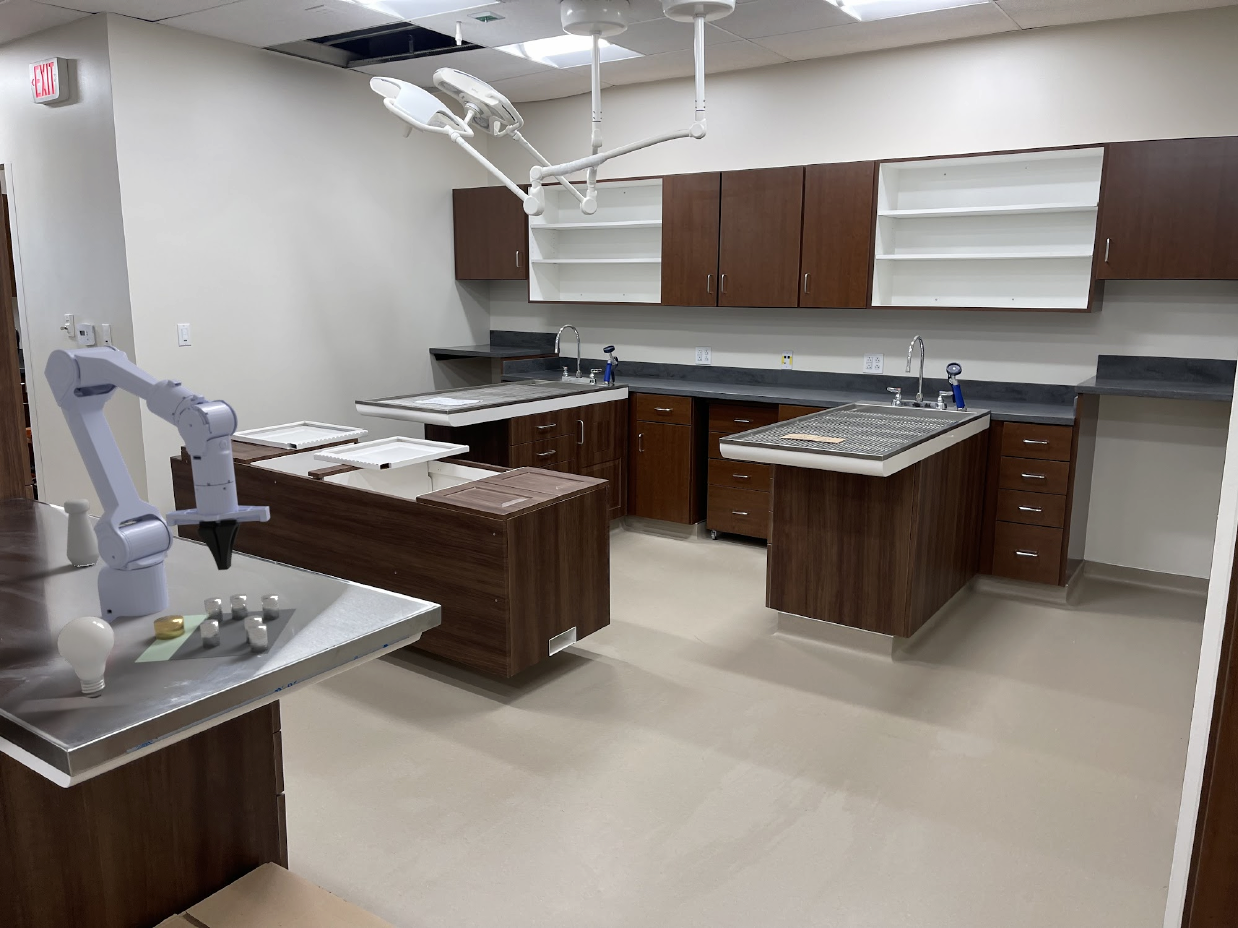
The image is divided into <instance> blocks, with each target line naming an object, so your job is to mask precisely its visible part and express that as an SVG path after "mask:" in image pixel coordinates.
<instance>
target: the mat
mask: <svg viewBox="0 0 1238 928" xmlns="http://www.w3.org/2000/svg"><path fill="white" fill-rule="evenodd" d="M296 610H297V608H284V609H282V608H281V609H279V614H280V617H279V618H278V619H275V620H264V619H263V610H258V611H257V610H254V611H252V610H251V611H248V617H249V616H256V615H257V616H261V617H262V624H266V629H267V638H268V647H269V649H268V650H267V651H264V652H261V653H252V652H251V650H250V644H248V643H247V642H246V633H245V624H244V619H243V620H233V619H232V614H231V612H225V613H224V612H223V621H222V622H220V623H218V626H219V634H220V643H221V644H220V645H219V646H217V647H215V648H208V649H207V648H203V646H202V637H201V629H200V623H201V622H203V621H206V613H205V614H191V615H182V616H183V619H184V627H185V634H184V635H183V636H181V637H178V638H175V639H170V640H158V639H155V640H154V642H152V644H151V645H150V646H149V647H148V648H147V649H146V650H145V651H144V652H142V654H141V655H139V657H137V659H136V660H135V661H134V662H133V663H134V664H135V663H147V662H149V663H150V662H160V661H161V662H162V661H163V662H164V661H176V660H177V661H179V660H191V659H205V658H207V659H209V658H223V657H236V656H248V655H249V656H250V655H265V654H269V652H270V651H271V649H272V648H273V646H274V645H275V643H276V641H277V640H278V638H279V637H280V636H281V633H283V630H284V629H285V628H286V626H287V624H288V623H289V621H290V619H291V618H292V616H293V615H294V613H295V612H296Z"/></svg>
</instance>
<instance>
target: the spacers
mask: <svg viewBox="0 0 1238 928" xmlns="http://www.w3.org/2000/svg"><path fill="white" fill-rule="evenodd" d="M260 599H261V607H262V608H261V609H262V610H261V611H263V619H264V620H275V619H278V618H279V617H280V614H279V610H280V606H279V596H278V594H277V593H268V594H264V595H262V596H261V598H260ZM229 603H230V604H229V605H230V613H231V614H232V619H233V620H243V619H244V624H245V633H246V642H247V643H248V644H250V650H251V652H252V653H261V652H264V651H267V650H268V649H269V647H268V638H267V629H266V624H262V617H261V616H257V615H256V616H249V617H248V612H249V610H248V609H249V608H248V600H247V594H245V593H237V594H232V595H231V596H230V597H229ZM204 610H205V611H204V612H205V614H206V621H203V622H201V623H200V629H201V637H202V646H203V648H207V649H208V648H215V647H217V646H219V645H220V644H221V643H220V634H219V626H218V623H220V622H222V621H223V613H224V612H223V603H222V598H221V597H217V596H216V597H210V598H207V599H205V600H204Z"/></svg>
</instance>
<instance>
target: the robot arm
mask: <svg viewBox="0 0 1238 928" xmlns="http://www.w3.org/2000/svg"><path fill="white" fill-rule="evenodd" d="M44 376H45V379H46V381H47V382H48V385H49V388H50V390H51V393H52V394H53V396H54V399H55V401H56V402H55V403H56V405H57V406H58V407H59V408H60V409H61V412H62V415H63V417H64V419H65V421H66V424H67V426H68V429H69V431H70V433H71V436H72V437H73V441H74V443H75V445H76V447H77V450H78V452H79V455H80V457H81V459H82V462H83V464H84V466H85V469H86V471H87V473H88V475H89V478H90V480H91V482H92V486H93V488H94V490H95V491H96V494H97V497H98V499H99V501H100V504H101V506H102V509H103V513H102V515H101V516H100V518H99V519H98V521H96V524H95V525H94V527H93V530H94V532H95V535H96V538H97V541H98V551H99V554H100V556H99V557H100V558H101V559H102V561H103V562H104V563H105V565H103V566H102V567H101V568H100V570H99V572H98V576H97V592H98V597H99V598H98V599H99V604H100V605H99V606H100V611H101V619H103V620H104V621H106V622H107V623H108V624H109V625H110V624H111V623H112V622H113V621H114V620H116V619H117V618H118V617H143V616H149V615H153V614H156V613H159V612H162V611H164V610H166V609H168V608H169V607H170V603H171V602H170V595H169V589H168V582H167V581H168V580H167V573H166V567H165V559H166V558H168V557H169V556H168V552H169V551H170V550H171V549H172V546H173V542H174V532H173V530H172V527H175V526H183V525H185V526H186V525H199V526H198V528H197V534H198V536H199V537H200V538H201V539H202V541H203V542H204V543H205V544H206V546H207V547H208V549H209V551H210V552H211V555H212V557H213V560H214V562H215V565H216V567H217V570H218V571H226V570H229V569H230V568H231V567H232V559H233V558H232V557H233V552H234V551H233V550H234V545H235V542H236V539H237V536H238V533H239V531H240V528H241V525H242V522H253V521H254V522H256V521H258V522H259V521H260V522H268V521H269V520H270V519H271V514H270V506H266V505H265V506H263V505H262V506H260V505H259V506H255V505H239V504H238V495H237V484H236V475H235V468H234V458H233V449H232V448H233V447H232V440H231V437H232V436H233V435H235V433H236V431H237V429H238V424H239V423H238V416H237V413H236V411H235V410H234V408H233V406H232V405H231V404H229V403H228V402H227V401H226V400H224V399H214V400H210V399H209V400H208V399H206V398H205V396H204V395H203V394H201V393H196V392H194V391H192V390H191V389H188V388H187V387H186V386H183V385H182V384H183V383H182V381H181V380H179V379H177V378H173V379H163V380H158V379H157V378H156V377H154V376H152V375H151V374H149V373H148V372H147V371H145V370H143V369H142V368H140V367H139V366H137V364H135V363H133V362H131V360H129V358H128V355H127V353H126V352H125V351H124V350H119V348H118V347H116V346H114V345H110V344H109V345H103V346H94V347H82V348H70V349H61V348H59V349H54V350H53V351H52V352H51V353H50V354H49V356H48V358H47V361H46V366H45V369H44ZM118 389H122V390H123V391H126V392H128V393H130V394H132V395H135V396H136V397H138V398H141V399H142V400H144V401H146V403H145V404H146V407H147V409H148V411H149V412H150V413H151V414H154V415H156V416H158V418H160V419H163V420H164V421H166V422H167V423H169V424H171V425H172V426H174V427H176V428H177V431H178V433H179V436H180V437H181V439H182V440H183V442H184V445H185V451H186V452H187V453H188V455H189V456H190V462H191V469H192V478H193V487H194V496H195V503H196V504H195V505H196V508H191V509H181V510H172V511H171V510H170V511H169V512H167V513H166V514H165V518H164V517H163V515H162V514H161V512H160V510H159V508H158V507H157V506H156V505H154V504H151V503H149V502H147V501H145V500H142V499H141V497H140V495H139V493H138V491H137V489H136V487H135V483H134V482H133V479H132V476H131V475H130V472H129V470H128V467H127V465H126V463H125V460H124V459H123V455H122V453H121V450H120V449H119V446H118V444H117V442H116V441H117V440H116V439H115V436H114V433H113V431H112V429H111V428H110V425H109V423H108V420H107V418H106V416H105V412H104V410H103V409H104V407H105V405H106V403H107V402H108V401H110V400H111V399H112V398H113V396H114V395H115V393H116V392H117V390H118ZM165 519H166V520H165ZM128 523H129V524H128ZM124 524H125V525H124ZM121 525H122V526H121Z"/></svg>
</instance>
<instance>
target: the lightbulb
mask: <svg viewBox="0 0 1238 928" xmlns="http://www.w3.org/2000/svg"><path fill="white" fill-rule="evenodd" d="M115 638H116V637H115V632H114V630H113V628H112V626H111V625H110V624H108V623H107V622H106V621H104V620H103V619H102V617H101V618H100V617H97V616H92V615H85V616H79V617H77V618H74V619H73V620H71V621H70V622H68V623H67V624H66V625H64V627H63V628H62V629H60V632H59V634H58V637H57V650H58V652H59V654H60V657H62V659H64V661H66V662H67V663H68V664H69V665H70V666H71V667H72V668H73V669H74V672H75V674H76V676H77V677H78V678H79V681H80V687H81V693H83V694H90V695H83V697H84V698H88V699H98V698H99V697H100V696H101V694H94V695H93V693H96V692H100V691H103V690H104V689H105V686H106V684H105V674H104V673H105V671H106V664H107V660H108V658H109V656H110V654H111V653H112V651H113V648H114V644H115ZM91 694H92V695H91Z"/></svg>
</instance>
